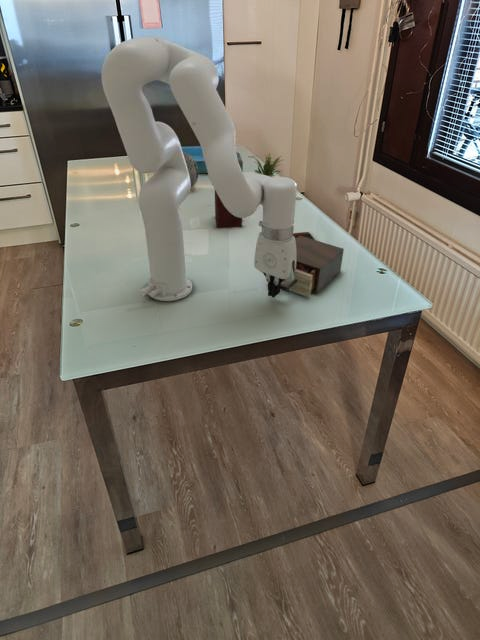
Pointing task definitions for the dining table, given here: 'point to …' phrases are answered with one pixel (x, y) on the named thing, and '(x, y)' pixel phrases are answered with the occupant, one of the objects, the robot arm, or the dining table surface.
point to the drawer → (301, 282)
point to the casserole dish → (196, 157)
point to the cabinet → (319, 259)
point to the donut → (303, 268)
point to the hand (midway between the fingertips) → (273, 294)
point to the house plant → (268, 166)
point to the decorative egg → (191, 168)
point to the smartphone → (304, 234)
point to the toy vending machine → (221, 213)
